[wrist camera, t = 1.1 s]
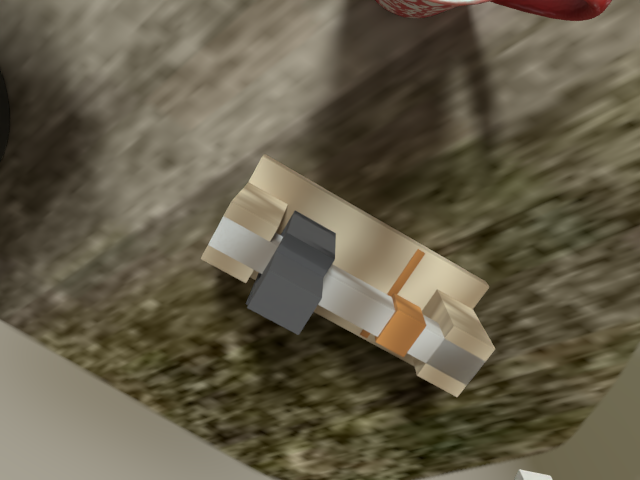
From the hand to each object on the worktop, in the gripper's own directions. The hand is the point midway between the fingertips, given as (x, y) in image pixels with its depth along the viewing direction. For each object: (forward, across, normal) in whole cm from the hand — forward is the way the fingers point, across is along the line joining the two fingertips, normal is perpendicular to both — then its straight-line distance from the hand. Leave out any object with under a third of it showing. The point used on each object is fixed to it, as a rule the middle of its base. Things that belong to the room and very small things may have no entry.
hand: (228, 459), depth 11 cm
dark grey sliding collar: (+22, +1, -3) cm, 22 cm away
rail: (+24, +5, -4) cm, 25 cm away
